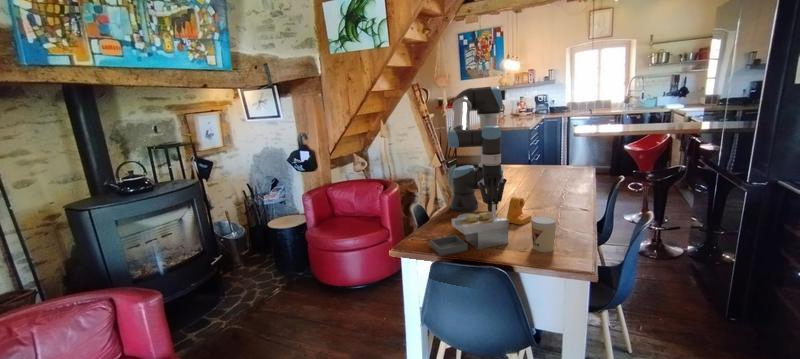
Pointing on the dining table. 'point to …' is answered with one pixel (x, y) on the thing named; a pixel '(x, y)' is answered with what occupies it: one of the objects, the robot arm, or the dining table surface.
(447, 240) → the tray
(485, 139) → the robot arm
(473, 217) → the chip
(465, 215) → the bowl
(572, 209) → the dining table surface
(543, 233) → the coffee cup
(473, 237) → the rail block
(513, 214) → the bracket
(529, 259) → the dining table surface
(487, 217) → the tan cube
